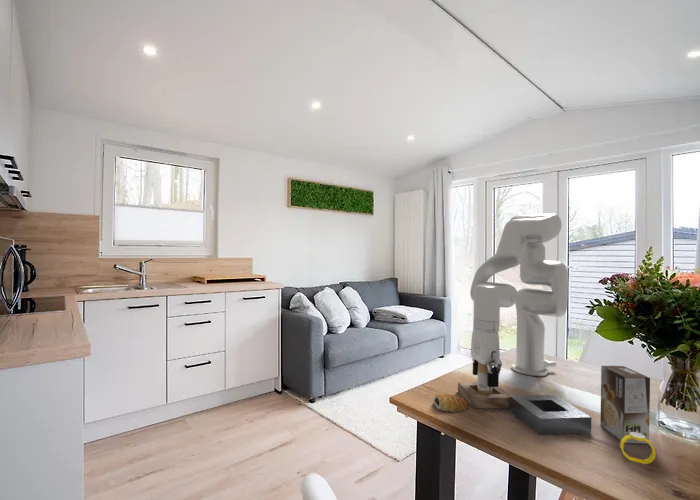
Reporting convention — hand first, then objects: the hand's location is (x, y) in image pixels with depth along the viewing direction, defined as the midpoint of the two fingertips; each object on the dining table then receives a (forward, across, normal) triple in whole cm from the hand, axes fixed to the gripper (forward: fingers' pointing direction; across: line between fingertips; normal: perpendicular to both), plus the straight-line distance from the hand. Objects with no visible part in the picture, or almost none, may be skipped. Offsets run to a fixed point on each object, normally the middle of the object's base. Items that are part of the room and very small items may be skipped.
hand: (484, 380), depth 110 cm
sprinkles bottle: (+6, 0, 0) cm, 6 cm away
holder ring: (+6, 0, 0) cm, 6 cm away
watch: (+6, +33, +19) cm, 39 cm away
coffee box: (+6, +22, +26) cm, 35 cm away
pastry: (+6, +4, -13) cm, 15 cm away
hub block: (+6, +14, +11) cm, 19 cm away
